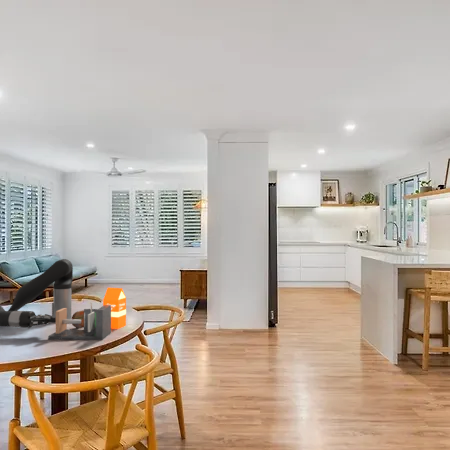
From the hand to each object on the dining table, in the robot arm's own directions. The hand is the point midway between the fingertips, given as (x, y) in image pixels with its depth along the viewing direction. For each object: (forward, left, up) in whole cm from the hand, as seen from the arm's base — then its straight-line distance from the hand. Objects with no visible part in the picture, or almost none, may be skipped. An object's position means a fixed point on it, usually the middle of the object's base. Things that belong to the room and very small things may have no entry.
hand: (59, 320), depth 183 cm
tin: (+4, +20, -8) cm, 22 cm away
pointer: (+15, 0, -5) cm, 16 cm away
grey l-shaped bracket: (+10, +1, -8) cm, 12 cm away
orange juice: (+20, +19, -8) cm, 29 cm away
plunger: (+5, 0, -5) cm, 7 cm away
